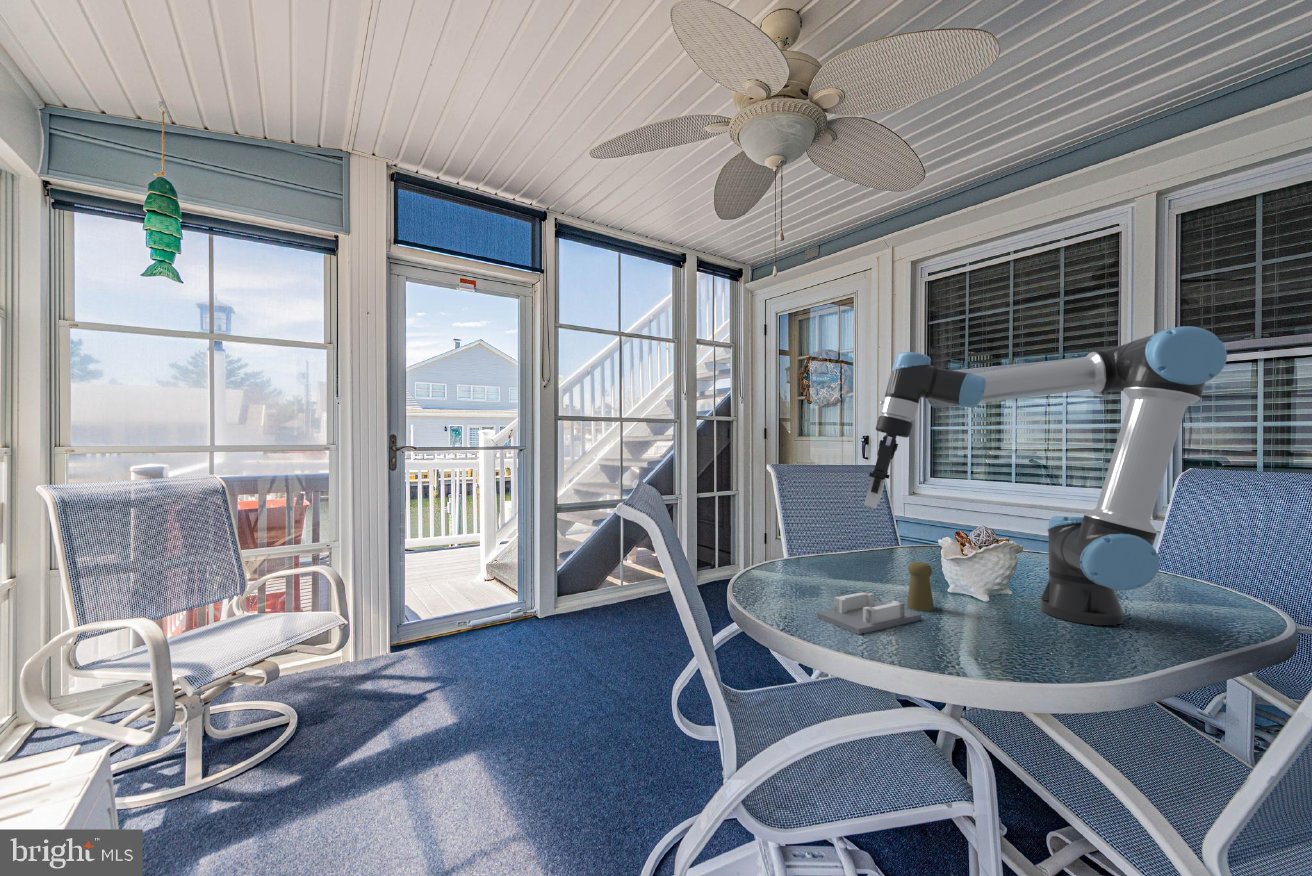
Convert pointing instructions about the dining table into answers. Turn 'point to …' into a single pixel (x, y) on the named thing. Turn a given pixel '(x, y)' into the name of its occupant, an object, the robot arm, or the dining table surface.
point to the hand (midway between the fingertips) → (871, 504)
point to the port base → (866, 613)
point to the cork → (920, 587)
